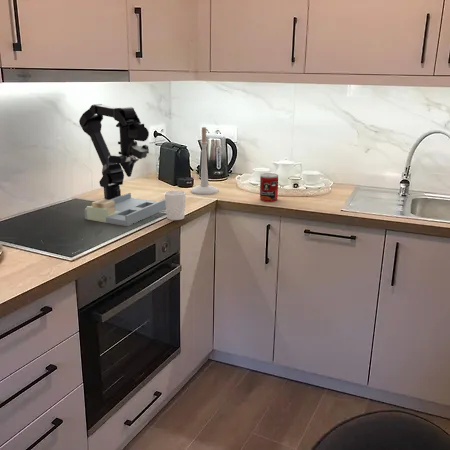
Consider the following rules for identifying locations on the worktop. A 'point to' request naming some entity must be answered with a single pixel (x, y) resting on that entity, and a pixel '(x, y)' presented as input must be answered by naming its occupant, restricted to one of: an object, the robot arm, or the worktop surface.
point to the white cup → (175, 204)
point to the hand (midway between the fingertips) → (129, 176)
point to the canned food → (269, 187)
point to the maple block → (105, 205)
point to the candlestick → (204, 172)
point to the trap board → (125, 210)
